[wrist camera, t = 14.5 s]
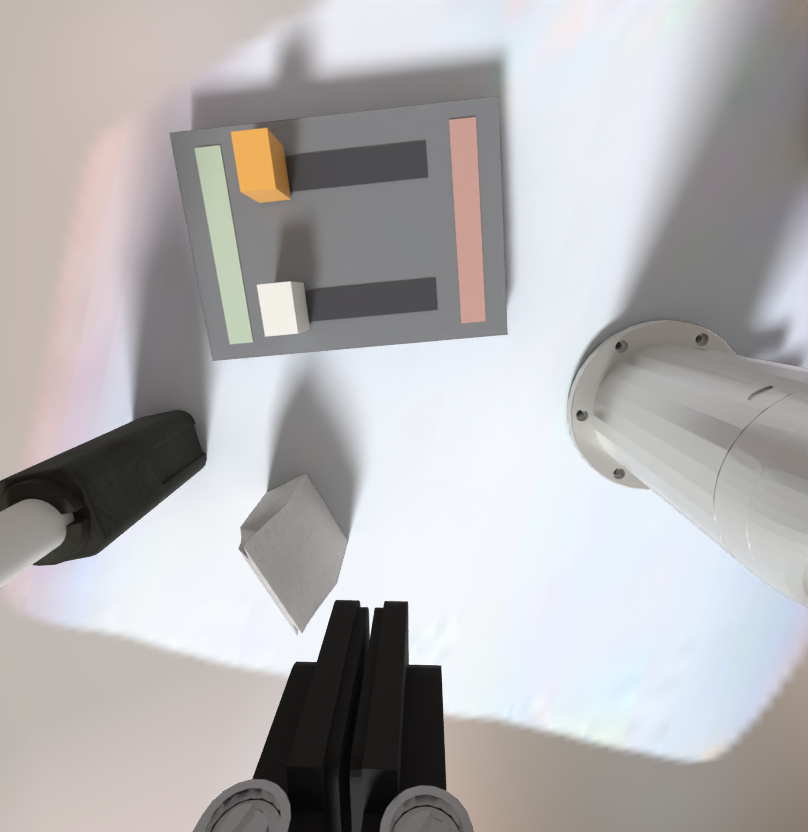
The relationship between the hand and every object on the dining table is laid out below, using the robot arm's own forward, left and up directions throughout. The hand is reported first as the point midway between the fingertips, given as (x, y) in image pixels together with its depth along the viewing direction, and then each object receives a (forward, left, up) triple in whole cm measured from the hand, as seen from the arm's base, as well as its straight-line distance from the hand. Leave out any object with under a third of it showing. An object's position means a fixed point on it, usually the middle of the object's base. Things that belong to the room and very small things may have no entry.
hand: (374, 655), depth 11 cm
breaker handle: (+7, -16, -23) cm, 28 cm away
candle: (+19, +2, -26) cm, 32 cm away
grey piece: (+9, +9, -26) cm, 29 cm away
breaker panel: (+3, -12, -26) cm, 29 cm away
